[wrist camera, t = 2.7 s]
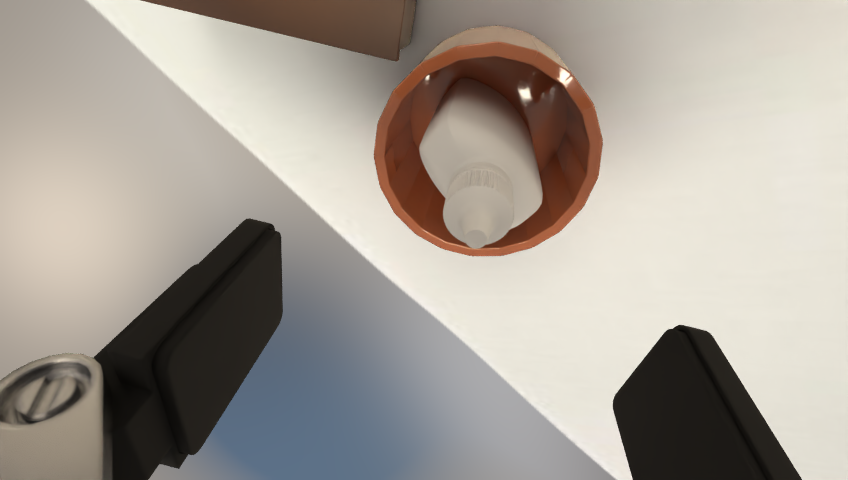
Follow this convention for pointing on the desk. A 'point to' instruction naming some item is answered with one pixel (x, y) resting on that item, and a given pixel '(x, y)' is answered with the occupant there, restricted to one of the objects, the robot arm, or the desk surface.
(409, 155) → the pencil cup
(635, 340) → the desk surface
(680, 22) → the desk surface
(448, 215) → the eye dropper bottle
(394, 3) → the walnut box
